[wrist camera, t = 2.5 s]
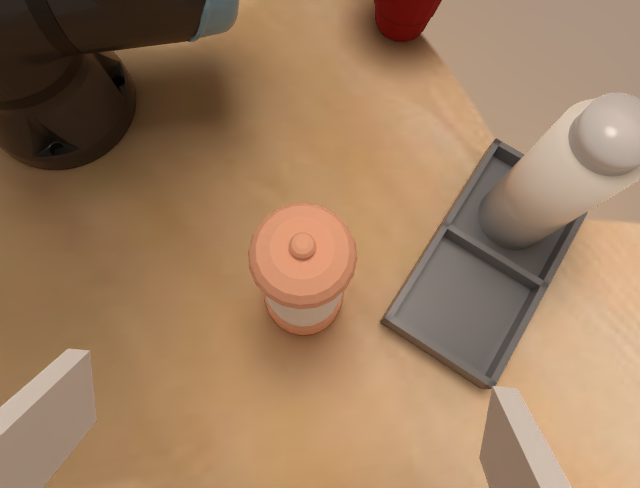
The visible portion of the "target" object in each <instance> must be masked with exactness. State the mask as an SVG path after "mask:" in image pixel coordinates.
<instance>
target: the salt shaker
mask: <svg viewBox="0 0 640 488" xmlns="http://www.w3.org/2000/svg"><path fill="white" fill-rule="evenodd" d="M639 180H640V99H639V98H637V97H635V96H632V95H629V94H625V93H608V94H604V95H602V96H600V97H598V98H596V99H590V100H585V101H582V102H579V103H577V104H575V105H573V106H572V107H571V108H569V109H568V110H567V111H566V112H565V113H564V114H563V115H562V116H561V117H560V118H559V119H558V121H557V122H555V124H554V125H553V126H552V127H551V128H550V129H549V130H548V131H547V132H546V133H545V134H544V135H543V136H542V137H541V138H540V139H539V140H538V141H537V142H536V143H535V144H534V146H533V147H532V148H531V149H530V150H529V151H528V152H527V153H526V154H525V155H524V156H523V157H522V158H521V159H520V160H519V161H518V162H517V163H516V164H515V165H514V166H513V167H512V168H511V169H510V170H509V172H508V173H507V174H506V175H505V176H504V177H503V178H502V179H501V180H500V181H499V182H498V183H497V184H496V185H495V186H494V187H493V188H492V189H491V190H490V191H489V192H488V193H487V194H486V195H485V197H484V198H483V199H482V201H481V203H480V206H479V211H478V217H479V222H480V225H481V228H482V230H483V232H484V233H485V234H486V236H487V237H488V238H489V239H490V240H491V241H492V242H494V243H495V244H497V245H499V246H501V247H503V248H507V249H512V250H519V249H525V248H528V247H530V246H532V245H533V244H535V243H537V242H538V241H540V240H542V239H543V238H545V237H546V236H548V235H550V234H551V233H553V232H555V231H556V230H558V229H560V228H561V227H563V226H565V225H566V224H568V223H570V222H571V221H573V220H574V219H576V218H578V217H579V216H581V215H583V214H584V213H586V212H588V211H589V210H591V209H593V208H594V207H596V206H598V205H599V204H601V203H602V202H604V201H606V200H607V199H609V198H611V197H612V196H614V195H616V194H617V193H619V192H621V191H622V190H624V189H625V188H627V187H629V186H630V185H632V184H634V183H635V182H637V181H639Z"/></svg>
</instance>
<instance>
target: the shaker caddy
mask: <svg viewBox="0 0 640 488" xmlns="http://www.w3.org/2000/svg"><path fill="white" fill-rule="evenodd" d="M523 156H524V154H522V153H521V152H519V151H517V150H515V149H514V148H512V147H510V146H508V145H507V144H505V143H503V142H502V141H500V140H498V139H495V140H494V142H493V143H492V144H491V145H490V147H489V148H488V149H487V151H486V152H485V154H484V155H483V157H482V158H481V160H480V162H479V163H478V165H477V166H476V168H475V170H474V171H473V173H472V174H471V176H470V178H469V179H468V181H467V182H466V184H465V186H464V187H463V189H462V190H461V192H460V194H459V195H458V197H457V199H456V200H455V202H454V203H453V205H452V207H451V208H450V210H449V211H448V213H447V215H446V216H445V218H444V219H443V221H442V223H441V224H440V226H439V227H438V229H437V231H436V232H435V234H434V235H433V237H432V239H431V240H430V242H429V244H428V245H427V247H426V248H425V250H424V252H423V253H422V255H421V256H420V258H419V260H418V261H417V263H416V264H415V266H414V268H413V269H412V271H411V272H410V274H409V276H408V277H407V279H406V280H405V282H404V284H403V285H402V287H401V289H400V290H399V292H398V293H397V295H396V297H395V298H394V300H393V301H392V303H391V305H390V306H389V308H388V309H387V311H386V313H385V314H384V316H383V317H382V319H381V321H380V322H381V323H382V324H384V325H386V326H387V327H389V328H390V329H392V330H393V331H395V332H396V333H398V334H399V335H401V336H402V337H404V338H405V339H407V340H408V341H410V342H411V343H413V344H415V345H416V346H418V347H419V348H421V349H422V350H424V351H425V352H427V353H428V354H430V355H431V356H433V357H434V358H436V359H437V360H439V361H440V362H442V363H444V364H445V365H447V366H448V367H450V368H451V369H453V370H454V371H456V372H457V373H459V374H460V375H462V376H463V377H465V378H466V379H468V380H469V381H471V382H472V383H474V384H476V385H477V386H479V387H480V388H482V389H492V386H495V385H496V383H497V381H498V380H499V378H500V376H501V374H502V372H503V370H504V368H505V366H506V365H507V363H508V361H509V359H510V357H511V355H512V353H513V351H514V350H515V348H516V346H517V344H518V342H519V340H520V338H521V336H522V335H523V333H524V331H525V329H526V327H527V325H528V323H529V321H530V320H531V318H532V316H533V314H534V312H535V310H536V308H537V306H538V305H539V303H540V301H541V299H542V297H543V295H544V293H545V291H546V290H547V288H548V286H549V284H550V282H551V280H552V278H553V276H554V274H555V273H556V271H557V269H558V267H559V265H560V263H561V261H562V259H563V258H564V256H565V254H566V252H567V250H568V248H569V246H570V244H571V243H572V241H573V239H574V237H575V235H576V233H577V231H578V229H579V228H580V226H581V224H582V222H583V220H584V218H585V216H586V214H587V212H586V213H584V214H583V215H581V216H579V217H578V218H576V219H574V220H573V221H571V222H570V223H568V224H566V225H565V226H563V227H561V228H560V229H558V230H556V231H555V232H553V233H551V234H550V235H548V236H546V237H545V238H543V239H542V240H540V241H538V242H537V243H535V244H533V245H532V246H530V247H528V248H525V249H519V250H512V249H507V248H503V247H501V246H499V245H497V244H495V243H494V242H492V241H491V240H490V239H489V238H488V237H487V236H486V234H485V233H484V232H483V230H482V228H481V225H480V222H479V217H478V211H479V206H480V203H481V201H482V199H483V198H484V197H485V195H486V194H487V193H488V192H489V191H490V190H491V189H492V188H493V187H494V186H495V185H496V184H497V183H498V182H499V181H500V180H501V179H502V178H503V177H504V176H505V175H506V174H507V173H508V172H509V170H510V169H511V168H512V167H513V166H514V165H515V164H516V163H517V162H518V161H519V160H520V159H521V158H522V157H523Z"/></svg>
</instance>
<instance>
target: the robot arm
mask: <svg viewBox="0 0 640 488" xmlns="http://www.w3.org/2000/svg"><path fill="white" fill-rule="evenodd" d="M238 5H239V0H0V147H1V148H3V149H4V150H5V151H7V152H8V153H9V154H10V155H12V156H13V157H14V158H16V159H17V160H19V161H21V162H23V163H25V164H27V165H30V166H33V167H37V168H42V169H52V170H57V169H68V168H73V167H78V166H81V165H84V164H87V163H89V162H91V161H93V160H95V159H97V158H99V157H101V156H102V155H104V154H105V153H107V152H108V151H109V150H110V149H112V148H113V147H114V146H115V145H116V144H117V143H118V142H119V141H120V139H121V138H122V137H123V136H124V134H125V133H126V131H127V129H128V128H129V126H130V124H131V121H132V119H133V116H134V112H135V106H136V93H135V88H134V84H133V81H132V79H131V77H130V75H129V73H128V71H127V70H126V68H125V66H124V64H123V63H122V61H121V60H120V59H119V57H118V56H117V55H116V54H115V53H114V52H113V51H114V50H122V49H130V48H138V47H146V46H154V45H162V44H170V43H178V42H185V41H189V42H193V41H196V40H197V39H199V38H201V37H206V36H211V35H215V34H220V33H224V32H226V31H228V30H229V29H230V28H231V27H232V26H233V24H234V23H235V21H236V18H237V14H238ZM96 422H97V417H96V406H95V396H94V385H93V375H92V364H91V354H90V350H79V349H67V350H66V351H64V352H63V353H62V354H61V355H60V356H59V357H58V358H56V359H55V360H54V361H53V362H52V363H51V364H49V365H48V366H47V367H46V368H45V369H44V370H43V371H41V372H40V373H39V374H38V375H37V376H36V377H34V378H33V379H32V380H31V381H30V382H29V383H28V384H26V385H25V386H24V387H23V388H22V389H21V390H19V391H18V392H17V393H16V394H15V395H14V396H13V397H11V398H10V399H9V400H8V401H7V402H6V403H4V404H3V405H2V406H1V407H0V488H43V487H44V486H45V485H46V484H47V482H48V481H49V480H50V479H51V477H52V476H53V475H54V474H55V473H56V471H57V470H58V469H59V468H60V466H61V465H62V464H63V463H64V461H65V460H66V459H67V458H68V456H69V455H70V454H71V453H72V451H73V450H74V449H75V448H76V446H77V445H78V444H79V443H80V441H81V440H82V439H83V438H84V437H85V435H86V434H87V433H88V432H89V430H90V429H91V428H92V427H93V425H94V424H95V423H96ZM479 458H480V461H481V464H482V467H483V470H484V473H485V476H486V479H487V482H488V485H489V488H572V487H571V485H570V483H569V481H568V480H567V478H566V476H565V474H564V472H563V470H562V469H561V467H560V465H559V463H558V461H557V460H556V458H555V456H554V454H553V452H552V450H551V449H550V447H549V445H548V443H547V441H546V440H545V438H544V436H543V434H542V432H541V430H540V429H539V427H538V425H537V423H536V421H535V420H534V418H533V416H532V414H531V412H530V410H529V409H528V407H527V405H526V403H525V401H524V400H523V398H522V396H521V394H520V392H519V390H518V389H517V388H511V387H500V386H492V391H491V397H490V402H489V408H488V413H487V419H486V424H485V430H484V435H483V441H482V446H481V452H480V457H479Z"/></svg>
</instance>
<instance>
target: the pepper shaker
mask: <svg viewBox="0 0 640 488" xmlns="http://www.w3.org/2000/svg"><path fill="white" fill-rule="evenodd" d="M248 256H249V269H250V271H251V274H252V276H253V279H254V281H255V283H256V285H257V286H258V287H259V288H260V289H261V291H262V292H263V293H264V299H265V303H266V306H267V308H268V311H269V313H270V315H271V317H272V318H273V319H274V321H275V322H276V323H277V324H278V325H279V326H280V327H281V328H283V329H285V330H286V331H288V332H290V333H294V334H298V335H309V334H315V333H317V332H319V331H321V330H324V329H325V328H326V327H327V326H328V325H330V324H331V323H332V322H333V321H334V319H335V317H336V315H337V314H338V312H339V310H340V308H341V305H342V300H343V295H344V290H345V289H346V287H347V286H348V284H349V282H350V280H351V279H352V277H353V275H354V271H355V266H356V261H357V254H356V246H355V241H354V239H353V237H352V235H351V233H350V230H349V228H348V227H347V225H346V224H345V223H344V222H343V221H342V220H341V219H340V218H339V217H338V216H337V215H336V214H335V213H333V212H331V211H330V210H328V209H326V208H324V207H322V206H319V205H314V204H309V203H298V204H289V205H287V206H284V207H282V208H279V209H277V210H275V211H273V212H272V213H271V214H270V215H269V216H267V217H266V218H265V219H264V220H263V221H262V222H261V224H260V225H259V227H258V228H257V230H256V231H255V233H254V234H253V236H252V240H251V243H250V247H249V251H248Z"/></svg>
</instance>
